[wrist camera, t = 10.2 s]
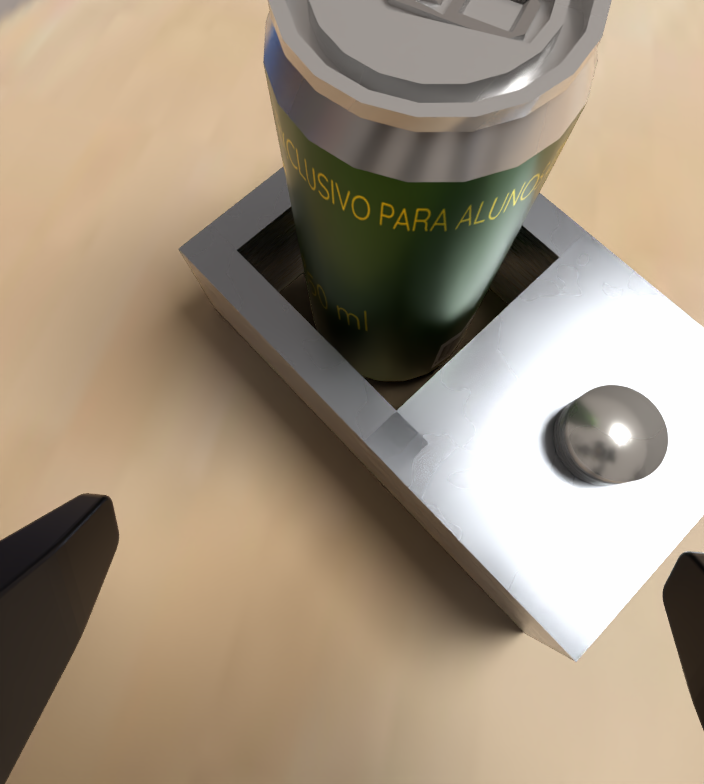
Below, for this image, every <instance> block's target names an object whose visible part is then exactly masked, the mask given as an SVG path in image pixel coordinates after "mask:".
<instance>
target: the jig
mask: <svg viewBox="0 0 704 784" xmlns="http://www.w3.org/2000/svg"><path fill="white" fill-rule="evenodd" d="M179 251H180V253H181V254H182V256H183V257H184V259H185V261H186V262H187V264H188V266H189V267H190V269H191V270H192V272H193V274H194V275H195V277H196V279H197V280H198V282H199V284H200V285H201V287H202V288H203V290H204V292H205V293H206V295H207V297H208V298H209V300H210V301H211V303H212V305H213V306H214V308H215V309H216V310H217V311H218V312H219V313H220V314H221V315H222V316H223V317H224V318H225V319H226V320H227V321H228V322H229V323H230V324H231V326H232V327H233V328H234V329H235V330H236V331H237V332H238V333H239V334H240V335H241V336H242V337H243V338H244V339H245V340H246V341H247V342H248V343H249V344H250V345H251V347H252V348H253V349H254V350H255V351H256V352H257V353H258V354H259V355H260V356H261V357H262V358H263V359H264V360H265V361H266V362H267V363H268V364H269V365H270V366H271V368H272V369H273V370H274V371H275V372H276V373H277V374H278V375H279V376H280V377H281V378H282V379H283V380H284V381H285V382H286V383H287V384H288V385H289V386H290V388H291V389H292V390H293V391H294V392H295V393H296V394H297V395H298V396H299V397H300V398H301V399H302V400H303V401H304V402H305V403H306V404H307V405H308V406H309V407H310V409H311V410H312V411H313V412H314V413H315V414H316V415H317V416H318V417H319V418H320V419H321V420H322V421H323V422H324V423H325V424H326V425H327V426H328V427H329V428H330V430H331V431H332V432H333V433H334V434H335V435H336V436H337V437H338V438H339V439H340V440H341V441H342V442H343V443H344V444H345V445H346V446H347V447H348V448H349V449H350V451H351V452H352V453H353V454H354V455H355V456H356V457H357V458H358V459H359V460H360V461H361V462H362V463H363V464H364V465H365V466H366V467H367V468H368V469H369V470H370V472H371V473H372V474H373V475H374V476H375V477H376V478H377V479H378V480H379V481H380V482H381V483H382V484H383V485H384V486H385V487H386V488H387V489H388V490H389V491H390V493H391V494H392V495H393V496H394V497H395V498H396V499H397V500H398V501H399V502H400V503H401V504H402V505H403V506H404V507H405V508H406V509H407V510H408V511H409V512H410V514H411V515H412V516H413V517H414V518H415V519H416V520H417V521H418V522H419V523H420V524H421V525H422V526H423V527H424V528H425V529H426V530H427V531H428V532H429V534H430V535H431V536H432V537H433V538H434V539H435V540H436V541H437V542H438V543H439V544H440V545H441V546H442V547H443V548H444V549H445V550H446V551H447V552H448V553H449V555H450V556H451V557H452V558H453V559H454V560H455V561H456V562H457V563H458V564H459V565H460V566H461V567H462V568H463V569H464V570H465V571H466V572H467V573H468V574H469V576H470V577H471V578H472V579H473V580H474V581H475V582H476V583H477V584H478V585H479V586H480V587H481V588H482V589H483V590H484V591H485V592H486V593H487V594H488V595H489V597H490V598H491V599H492V600H493V601H494V602H495V603H496V604H497V605H498V606H499V607H500V608H501V609H502V610H503V611H504V612H505V613H506V614H507V615H508V616H509V618H510V619H511V620H512V621H513V622H514V623H515V624H516V625H517V626H518V627H519V628H520V629H521V630H522V631H523V632H524V633H525V634H527V635H529V636H531V637H532V638H534V639H536V640H538V641H540V642H541V643H543V644H545V645H547V646H549V647H550V648H552V649H554V650H556V651H557V652H559V653H561V654H563V655H565V656H566V657H568V658H570V659H572V660H574V661H575V662H577V660H578V659H579V658H580V657H581V656H582V655H583V653H584V652H585V651H586V650H587V649H588V648H589V647H590V645H591V644H592V643H593V642H594V641H595V640H596V638H597V637H598V636H599V635H600V634H601V633H602V631H603V630H604V629H605V628H606V627H607V626H608V625H609V623H610V622H611V621H612V620H613V619H614V618H615V616H616V615H617V614H618V613H619V612H620V611H621V609H622V608H623V607H624V606H625V605H626V604H627V603H628V601H629V600H630V599H631V598H632V597H633V596H634V594H635V593H636V592H637V591H638V590H639V589H640V587H641V586H642V585H643V584H644V583H645V582H646V581H647V579H648V578H649V577H650V576H651V575H652V574H653V572H654V571H655V570H656V569H657V568H658V567H659V565H660V564H661V563H662V562H663V561H664V560H665V559H666V557H667V556H668V555H669V554H670V553H671V552H672V550H673V549H674V548H675V547H676V546H677V545H678V543H679V542H680V541H681V540H682V539H683V538H684V537H685V535H686V534H687V533H688V532H689V531H690V530H691V528H692V527H693V526H694V525H695V524H696V523H697V521H698V520H699V519H700V518H701V517H702V516H703V515H704V328H703V327H702V326H701V325H700V324H698V323H697V322H696V321H695V320H693V319H692V318H691V317H690V316H689V315H687V314H686V313H685V312H684V311H683V310H681V309H680V308H679V307H678V306H676V305H675V304H674V303H673V302H672V301H670V300H669V299H668V298H667V297H666V296H664V295H663V294H662V293H661V292H659V291H658V290H657V289H656V288H655V287H653V286H652V285H651V284H650V283H649V282H647V281H646V280H645V279H644V278H642V277H641V276H640V275H639V274H638V273H636V272H635V271H634V270H633V269H632V268H630V267H629V266H628V265H627V264H625V263H624V262H623V261H622V260H621V259H619V258H618V257H617V256H616V255H615V254H613V253H612V252H611V251H610V250H608V249H607V248H606V247H605V246H604V245H602V244H601V243H600V242H599V241H598V240H596V239H595V238H594V237H593V236H591V235H590V234H589V233H588V232H587V231H585V230H584V229H583V228H582V227H581V226H579V225H578V224H577V223H576V222H574V221H573V220H572V219H571V218H570V217H568V216H567V215H566V214H565V213H564V212H562V211H561V210H560V209H559V208H557V207H556V206H555V205H554V204H553V203H551V202H550V201H549V200H548V199H547V198H545V197H544V196H543V195H542V194H540V193H539V194H538V196H537V198H536V200H535V201H534V203H533V205H532V207H531V209H530V211H529V213H528V215H527V217H526V219H525V220H524V222H523V224H522V226H521V228H520V230H519V232H518V234H517V236H516V237H515V239H514V241H513V243H512V245H511V247H510V249H509V251H508V253H507V255H506V256H505V258H504V260H503V262H502V264H501V266H500V268H499V270H498V272H497V273H496V275H495V277H494V279H493V281H492V283H491V285H490V287H489V288H490V289H491V290H492V291H494V292H495V293H496V294H497V295H498V296H499V297H500V298H501V299H503V300H504V301H505V302H506V303H507V304H508V306H507V307H506V308H505V309H504V310H503V311H502V312H501V313H500V314H499V315H498V316H497V317H496V318H494V319H493V320H492V321H491V322H490V323H489V324H488V325H487V326H486V327H485V328H484V329H483V330H482V331H481V332H480V333H479V334H477V335H476V336H475V337H474V338H473V339H472V340H471V341H470V342H469V343H468V344H467V345H466V346H465V347H464V348H463V349H461V350H460V351H459V352H458V353H457V354H456V355H455V356H454V357H453V358H452V359H451V360H450V361H449V362H448V363H447V364H446V365H444V366H443V367H442V368H441V369H440V370H439V371H438V372H437V373H436V374H435V375H434V376H433V377H432V378H431V379H430V380H429V381H427V382H426V383H425V384H424V385H423V386H422V387H421V388H420V389H419V390H418V391H417V392H416V393H415V394H414V395H413V396H412V397H410V398H409V399H408V400H407V401H406V402H405V403H404V404H403V405H402V406H401V407H400V408H399V409H398V410H397V411H396V410H395V409H394V408H393V407H392V406H391V405H390V404H389V403H388V402H387V401H386V400H385V399H384V398H383V397H382V396H381V395H380V394H379V393H378V392H377V391H376V390H375V389H374V388H373V387H372V386H371V385H370V384H369V383H368V382H367V381H366V380H365V379H364V378H363V377H362V376H361V375H360V374H359V373H358V372H357V371H356V370H355V369H354V368H353V367H352V366H351V365H350V364H349V363H348V362H347V361H346V360H345V359H344V358H343V357H342V356H341V355H340V354H339V353H338V352H337V351H336V350H335V349H334V348H333V347H332V346H331V345H330V344H329V343H328V342H327V341H326V340H325V339H324V338H323V337H322V336H321V335H320V334H319V333H318V332H317V331H316V330H315V328H314V327H313V326H312V325H311V324H310V323H309V322H308V321H307V320H306V319H305V318H304V317H303V316H302V315H301V314H300V313H299V312H298V311H297V310H296V309H295V308H294V307H293V306H292V305H291V304H290V303H289V302H288V301H287V300H286V299H285V298H284V297H283V296H282V295H281V294H280V293H279V292H280V291H281V290H283V289H284V288H285V287H286V286H287V285H289V284H290V283H291V282H292V281H293V280H295V279H296V278H297V277H298V276H299V275H301V274H302V273H303V272H304V268H303V263H302V258H301V253H300V248H299V243H298V238H297V233H296V227H295V222H294V217H293V212H292V207H291V202H290V197H289V191H288V186H287V181H286V176H285V171H284V167H282V168H281V169H280V170H278V171H277V172H276V173H275V174H273V175H272V176H271V177H270V178H268V179H267V180H266V181H264V182H263V183H262V184H261V185H259V186H258V187H257V188H256V189H254V190H253V191H252V192H250V193H249V194H248V195H247V196H245V197H244V198H243V199H241V200H240V201H239V202H238V203H236V204H235V205H234V206H233V207H231V208H230V209H229V210H227V211H226V212H225V213H224V214H222V215H221V216H220V217H219V218H217V219H216V220H215V221H213V222H212V223H211V224H210V225H208V226H207V227H206V228H204V229H203V230H202V231H201V232H199V233H198V234H197V235H196V236H194V237H193V238H192V239H190V240H189V241H188V242H187V243H185V244H184V245H183V246H181V247H180V248H179Z"/></svg>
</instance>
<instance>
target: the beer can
mask: <svg viewBox="0 0 704 784" xmlns="http://www.w3.org/2000/svg"><path fill="white" fill-rule="evenodd" d="M268 4H269V10H270V11H269V14H268V17H267V19H266V26H265V43H264V61H263V63H264V68H265V73H266V78H267V84H268V89H269V94H270V99H271V104H272V109H273V114H274V120H275V125H276V130H277V135H278V140H279V145H280V150H281V155H282V161H283V166H284V171H285V176H286V181H287V186H288V191H289V197H290V202H291V207H292V212H293V217H294V222H295V227H296V233H297V238H298V243H299V248H300V253H301V258H302V263H303V268H304V274H305V279H306V284H307V289H308V294H309V299H310V304H311V310H312V315H313V320H314V323H315V326H316V329H317V332H318V333H319V334H320V335H321V336H322V337H323V338H324V339H325V340H326V341H327V342H328V343H329V344H330V345H331V346H332V347H333V348H334V349H335V350H336V351H337V352H338V353H339V354H340V355H341V356H342V357H343V358H344V359H345V360H346V361H347V362H348V363H349V364H350V365H351V366H352V367H353V368H354V369H355V370H356V371H357V372H358V373H359V374H360V375H361V376H364V377H367V378H371V379H374V380H377V381H406V380H409V379H412V378H415V377H418V376H422V375H425V374H428V373H429V372H431V371H432V370H434V369H435V368H436V367H438V366H439V365H441V364H442V363H443V362H445V361H446V360H448V358H449V357H450V355H451V354H452V353H453V351H454V350H455V348H456V347H457V346H458V344H459V343H460V341H461V340H462V338H463V336H464V334H465V332H466V330H467V328H468V327H469V325H470V323H471V321H472V319H473V317H474V315H475V313H476V311H477V309H478V308H479V306H480V304H481V302H482V300H483V298H484V296H485V294H486V292H487V291H488V289H489V287H490V285H491V283H492V281H493V279H494V277H495V275H496V273H497V272H498V270H499V268H500V266H501V264H502V262H503V260H504V258H505V256H506V255H507V253H508V251H509V249H510V247H511V245H512V243H513V241H514V239H515V237H516V236H517V234H518V232H519V230H520V228H521V226H522V224H523V222H524V220H525V219H526V217H527V215H528V213H529V211H530V209H531V207H532V205H533V203H534V201H535V200H536V198H537V196H538V194H539V192H540V190H541V188H542V186H543V184H544V183H545V181H546V179H547V177H548V175H549V173H550V171H551V169H552V167H553V166H554V164H555V162H556V160H557V158H558V156H559V154H560V152H561V150H562V148H563V147H564V145H565V143H566V141H567V139H568V137H569V135H570V133H571V131H572V130H573V128H574V126H575V124H576V122H577V120H578V118H579V116H580V114H581V112H582V111H583V109H584V107H585V105H586V103H587V100H588V96H589V92H590V89H591V85H592V81H593V77H594V73H595V69H596V65H597V61H598V58H597V46H598V44H599V42H600V40H601V38H602V35H603V31H604V27H605V24H606V20H607V16H608V12H609V8H610V4H611V0H268Z"/></svg>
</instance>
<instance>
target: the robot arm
mask: <svg viewBox="0 0 704 784" xmlns="http://www.w3.org/2000/svg"><path fill="white" fill-rule="evenodd" d="M118 542H119V530H118V526H117V521H116V516H115V511H114V507H113V502H112V500H111V498H110V497H109V496H106V495H100V494H89V493H86V494H81V495H79V496H77V497H75V498H74V499H72V500H70V501H68V502H67V503H65V504H63V505H61V506H60V507H58V508H56V509H54V510H53V511H51V512H49V513H47V514H46V515H44V516H42V517H41V518H39V519H37V520H35V521H34V522H32V523H30V524H28V525H27V526H25V527H23V528H21V529H20V530H18V531H16V532H14V533H13V534H11V535H9V536H8V537H6V538H4V539H2V540H1V541H0V784H5V782H6V781H7V779H8V777H9V775H10V773H11V771H12V769H13V767H14V765H15V763H16V761H17V760H18V758H19V756H20V754H21V752H22V750H23V748H24V746H25V744H26V742H27V740H28V739H29V737H30V735H31V733H32V731H33V729H34V727H35V725H36V723H37V721H38V719H39V718H40V716H41V714H42V712H43V710H44V708H45V706H46V704H47V702H48V700H49V698H50V696H51V695H52V693H53V691H54V689H55V687H56V685H57V683H58V681H59V679H60V677H61V675H62V674H63V672H64V670H65V668H66V666H67V664H68V662H69V660H70V658H71V656H72V654H73V653H74V650H75V648H76V646H77V644H78V642H79V640H80V638H81V636H82V634H83V632H84V629H85V627H86V625H87V622H88V620H89V617H90V615H91V612H92V610H93V607H94V605H95V602H96V600H97V597H98V595H99V592H100V589H101V587H102V584H103V582H104V579H105V577H106V574H107V572H108V569H109V567H110V564H111V562H112V559H113V557H114V554H115V552H116V549H117V546H118ZM663 602H664V606H665V610H666V613H667V617H668V620H669V624H670V627H671V631H672V634H673V638H674V641H675V644H676V648H677V651H678V655H679V658H680V662H681V665H682V669H683V672H684V676H685V679H686V682H687V686H688V689H689V692H690V695H691V698H692V701H693V704H694V707H695V709H696V712H697V715H698V717H699V720H700V723H701V725H702V728H703V730H704V553H700V552H690V551H688V552H684V553H683V554H681V555H680V556H679V558H678V560H677V562H676V564H675V566H674V568H673V570H672V572H671V573H670V575H669V577H668V579H667V581H666V583H665V585H664V589H663Z"/></svg>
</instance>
